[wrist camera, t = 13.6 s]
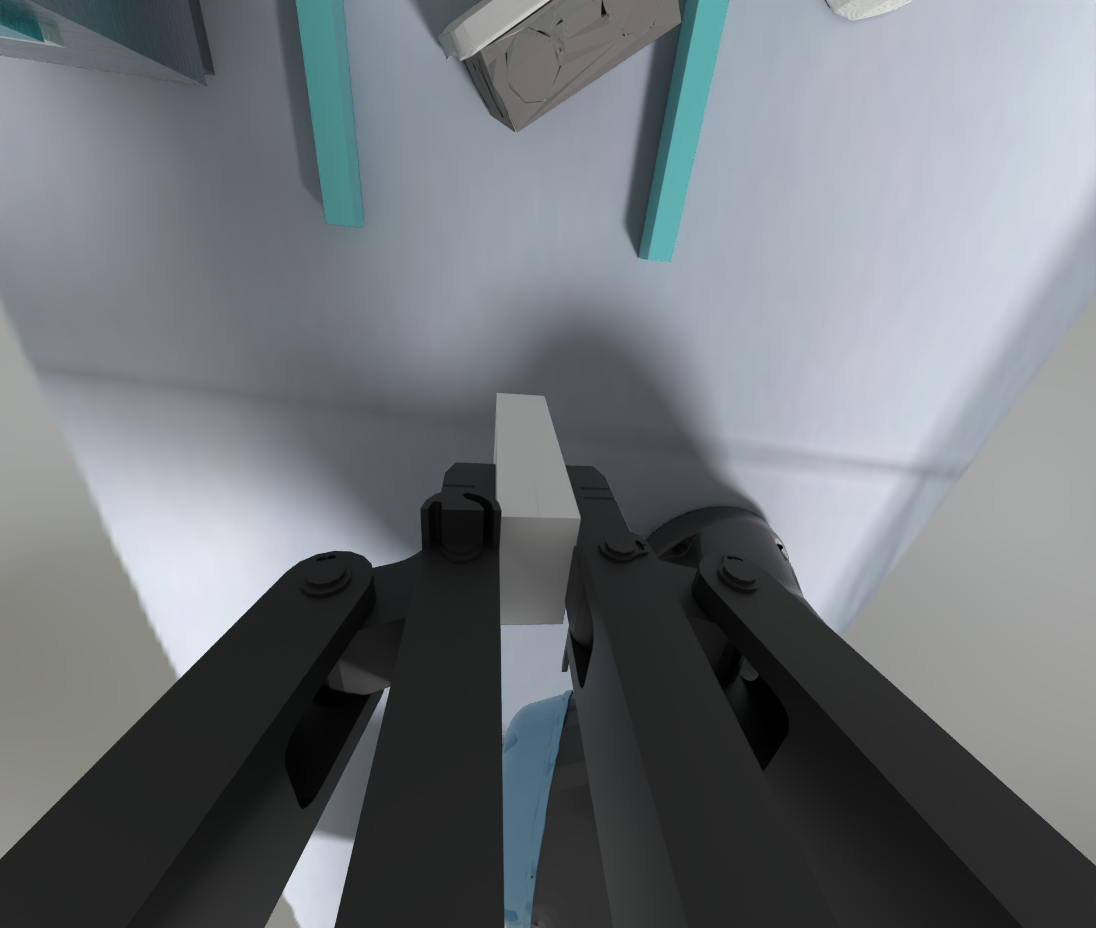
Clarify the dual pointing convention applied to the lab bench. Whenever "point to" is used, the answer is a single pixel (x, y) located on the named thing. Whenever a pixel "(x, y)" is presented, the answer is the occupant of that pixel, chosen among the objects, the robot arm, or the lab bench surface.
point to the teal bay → (675, 153)
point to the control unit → (110, 36)
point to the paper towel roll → (864, 7)
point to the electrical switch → (549, 48)
